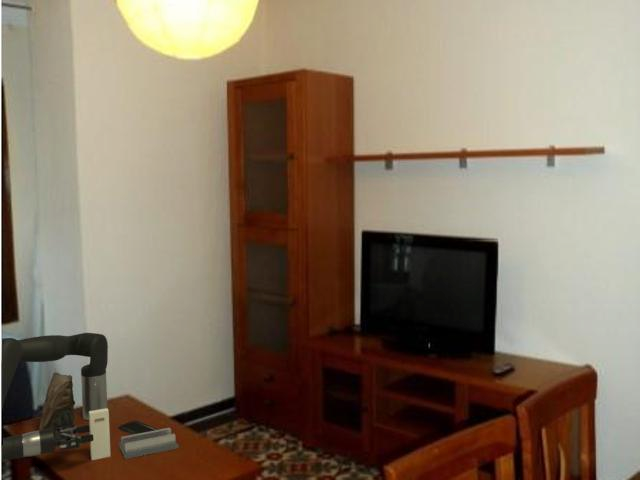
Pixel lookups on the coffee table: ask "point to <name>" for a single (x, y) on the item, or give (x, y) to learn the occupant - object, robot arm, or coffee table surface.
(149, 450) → the floor track
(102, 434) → the door leaf
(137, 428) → the phone
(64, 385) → the owl
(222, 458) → the coffee table surface
